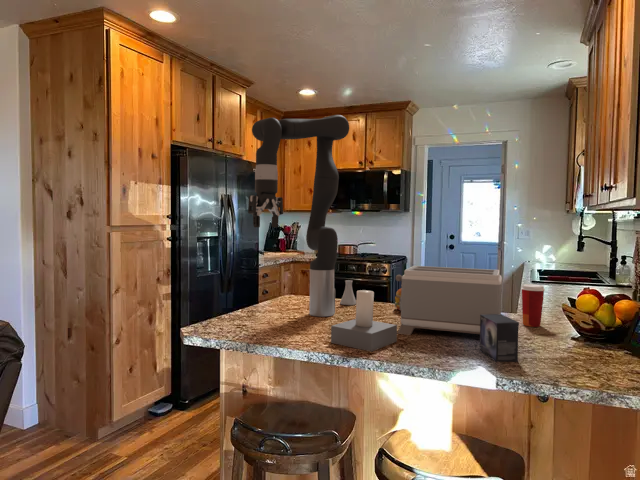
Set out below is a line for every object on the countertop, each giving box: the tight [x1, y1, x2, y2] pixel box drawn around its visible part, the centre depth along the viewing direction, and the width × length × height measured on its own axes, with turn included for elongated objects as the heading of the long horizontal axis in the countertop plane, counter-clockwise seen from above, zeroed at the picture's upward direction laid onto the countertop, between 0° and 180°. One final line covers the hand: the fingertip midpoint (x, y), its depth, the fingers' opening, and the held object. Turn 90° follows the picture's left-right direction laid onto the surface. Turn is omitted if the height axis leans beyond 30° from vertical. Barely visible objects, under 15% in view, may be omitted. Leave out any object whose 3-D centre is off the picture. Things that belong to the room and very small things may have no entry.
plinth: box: [330, 318, 398, 353], centre depth 140 cm, size 14×14×5 cm
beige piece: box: [355, 289, 375, 327], centre depth 140 cm, size 5×5×10 cm
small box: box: [479, 313, 520, 363], centre depth 128 cm, size 11×6×10 cm, turn 5°
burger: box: [394, 288, 401, 312], centre depth 189 cm, size 14×14×10 cm
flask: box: [339, 279, 357, 306], centre depth 202 cm, size 7×7×10 cm
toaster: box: [395, 265, 503, 336], centre depth 154 cm, size 19×34×20 cm, turn 68°
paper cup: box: [520, 283, 546, 328], centre depth 165 cm, size 8×8×14 cm
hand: (266, 227), depth 160 cm, fingers open, 8 cm apart
